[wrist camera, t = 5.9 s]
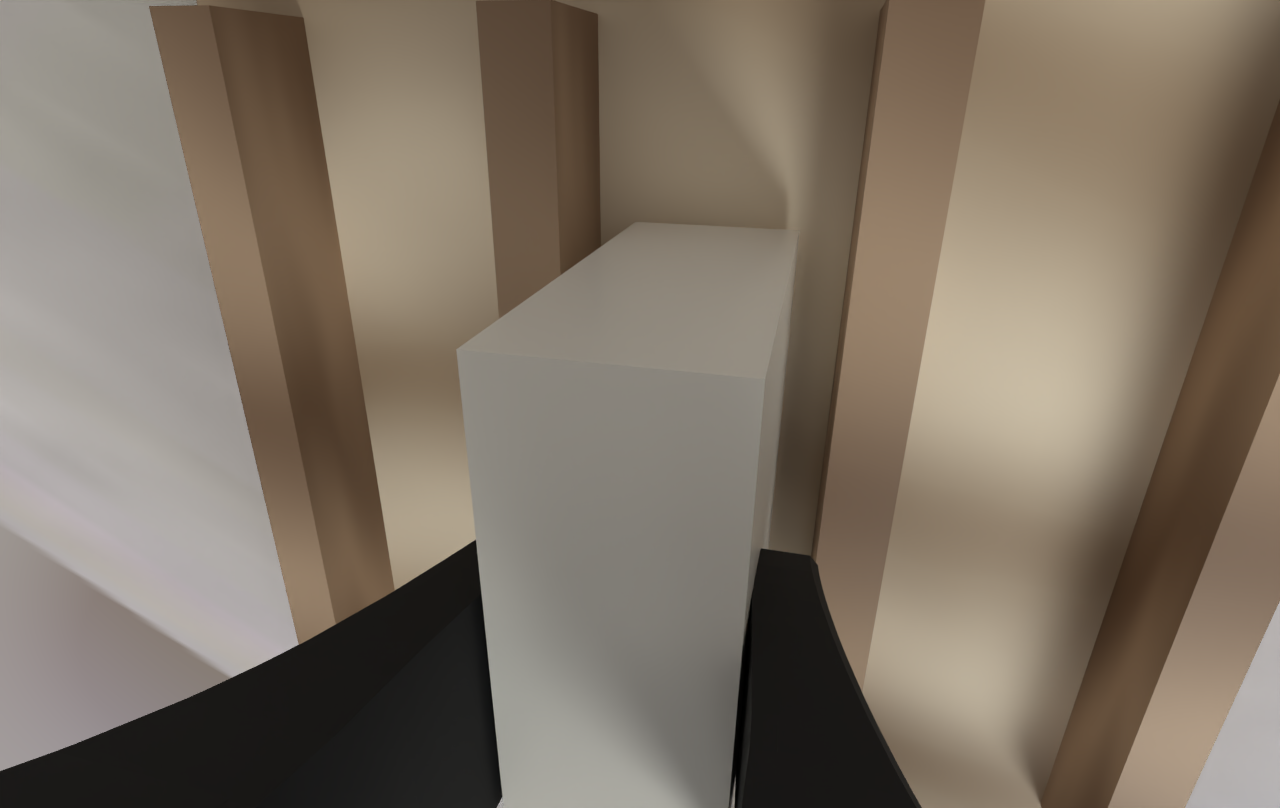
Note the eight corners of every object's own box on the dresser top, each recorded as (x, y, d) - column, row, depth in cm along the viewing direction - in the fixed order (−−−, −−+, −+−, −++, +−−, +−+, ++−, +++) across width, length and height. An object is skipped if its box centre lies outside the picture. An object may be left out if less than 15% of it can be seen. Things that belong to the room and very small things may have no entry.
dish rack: (1126, 833, 15) (1181, 970, 13) (355, 671, 19) (288, 754, 16) (1514, -90, 8) (1774, -157, 6) (213, -45, 12) (71, -75, 10)
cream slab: (758, 648, 14) (712, 997, 9) (633, 625, 14) (517, 942, 9) (799, 230, 11) (765, 379, 5) (635, 221, 11) (456, 348, 6)
